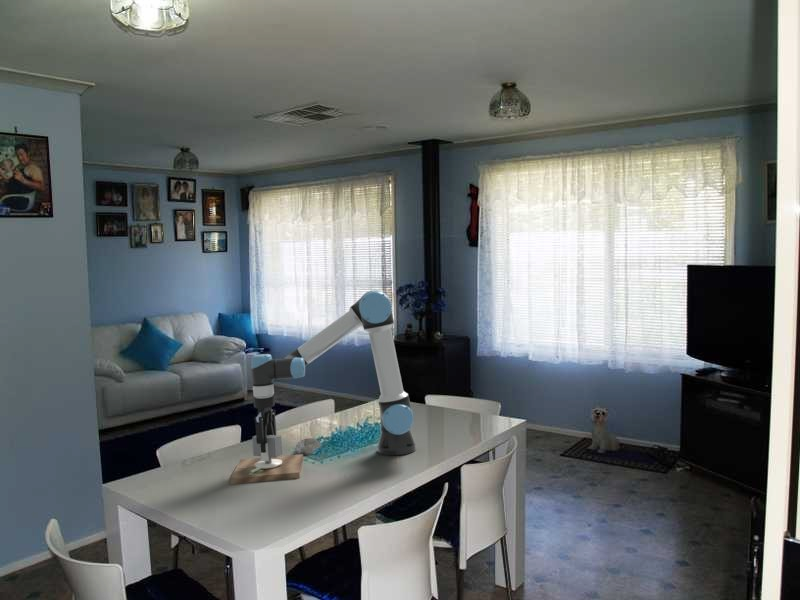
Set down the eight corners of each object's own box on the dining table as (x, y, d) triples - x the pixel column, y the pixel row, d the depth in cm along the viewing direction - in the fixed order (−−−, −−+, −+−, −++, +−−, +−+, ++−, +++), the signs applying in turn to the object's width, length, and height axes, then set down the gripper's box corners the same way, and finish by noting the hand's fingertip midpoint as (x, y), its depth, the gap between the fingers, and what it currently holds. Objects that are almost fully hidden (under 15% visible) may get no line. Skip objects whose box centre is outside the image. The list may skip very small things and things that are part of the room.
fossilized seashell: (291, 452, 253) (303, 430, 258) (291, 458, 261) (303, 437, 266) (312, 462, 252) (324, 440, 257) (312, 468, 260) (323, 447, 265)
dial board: (303, 459, 248) (303, 453, 248) (299, 477, 224) (299, 471, 224) (241, 464, 246) (240, 459, 246) (230, 484, 222) (230, 477, 222)
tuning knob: (265, 460, 242) (263, 432, 241) (287, 461, 238) (285, 433, 237) (240, 471, 228) (238, 442, 228) (263, 473, 224) (261, 443, 224)
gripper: (264, 392, 244) (268, 452, 245) (243, 401, 227) (248, 465, 227) (282, 391, 242) (287, 452, 243) (262, 400, 225) (267, 465, 226)
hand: (268, 458), depth 235 cm, fingers closed on tuning knob, 5 cm apart
